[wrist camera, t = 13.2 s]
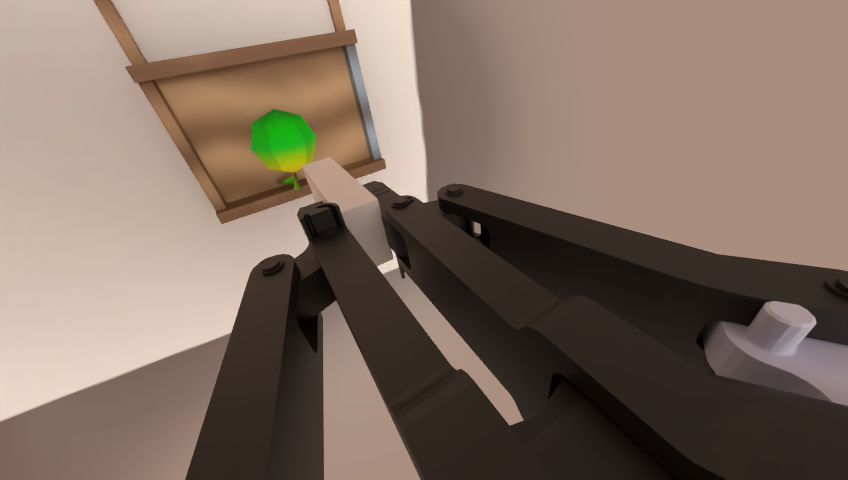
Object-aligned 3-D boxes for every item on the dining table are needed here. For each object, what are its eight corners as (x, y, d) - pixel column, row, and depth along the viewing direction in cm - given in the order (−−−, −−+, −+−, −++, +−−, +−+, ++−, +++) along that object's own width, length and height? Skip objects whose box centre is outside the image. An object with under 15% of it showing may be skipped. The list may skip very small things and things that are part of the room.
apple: (275, 114, 27) (307, 204, 32) (318, 101, 32) (340, 181, 37) (219, 117, 30) (256, 201, 34) (267, 105, 34) (294, 180, 39)
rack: (-13, -180, 20) (-51, -218, 17) (296, -162, 26) (304, -188, 24) (222, 212, 36) (221, 223, 33) (376, 161, 43) (386, 168, 40)
